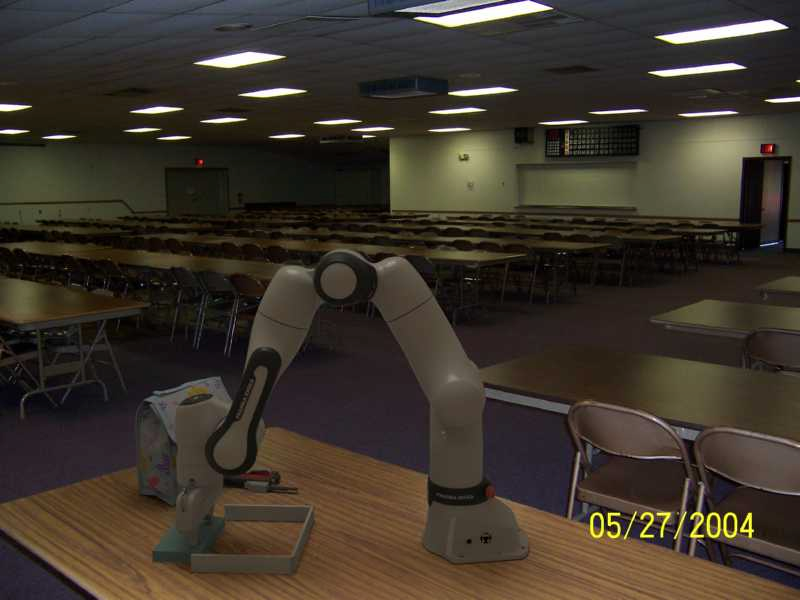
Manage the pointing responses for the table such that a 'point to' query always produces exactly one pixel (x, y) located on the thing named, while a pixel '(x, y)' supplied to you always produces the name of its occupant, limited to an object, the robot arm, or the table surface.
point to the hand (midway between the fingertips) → (201, 533)
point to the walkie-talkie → (258, 480)
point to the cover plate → (177, 545)
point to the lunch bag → (166, 437)
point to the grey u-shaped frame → (258, 562)
